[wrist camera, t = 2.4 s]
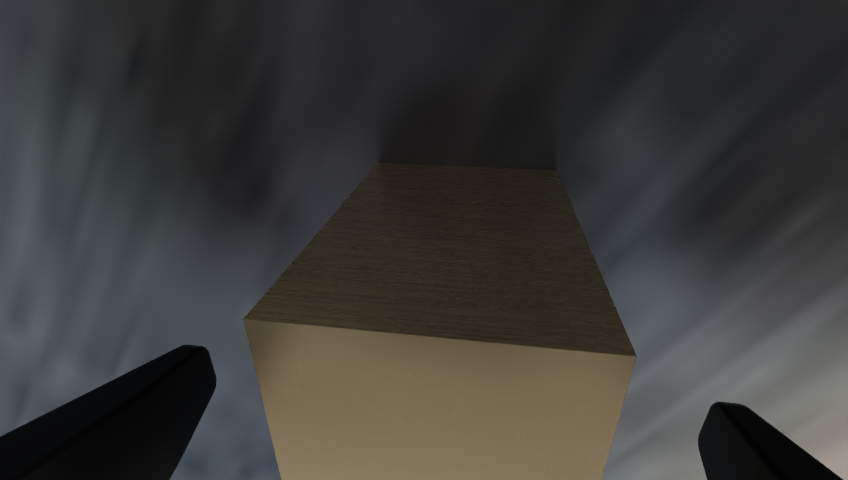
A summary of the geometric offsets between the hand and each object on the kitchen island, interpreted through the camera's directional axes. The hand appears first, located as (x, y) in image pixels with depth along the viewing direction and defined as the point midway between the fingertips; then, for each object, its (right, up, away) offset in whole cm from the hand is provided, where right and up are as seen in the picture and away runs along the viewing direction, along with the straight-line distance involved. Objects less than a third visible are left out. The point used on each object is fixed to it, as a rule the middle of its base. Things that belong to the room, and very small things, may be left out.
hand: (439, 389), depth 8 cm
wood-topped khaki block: (+1, +2, +3) cm, 4 cm away
